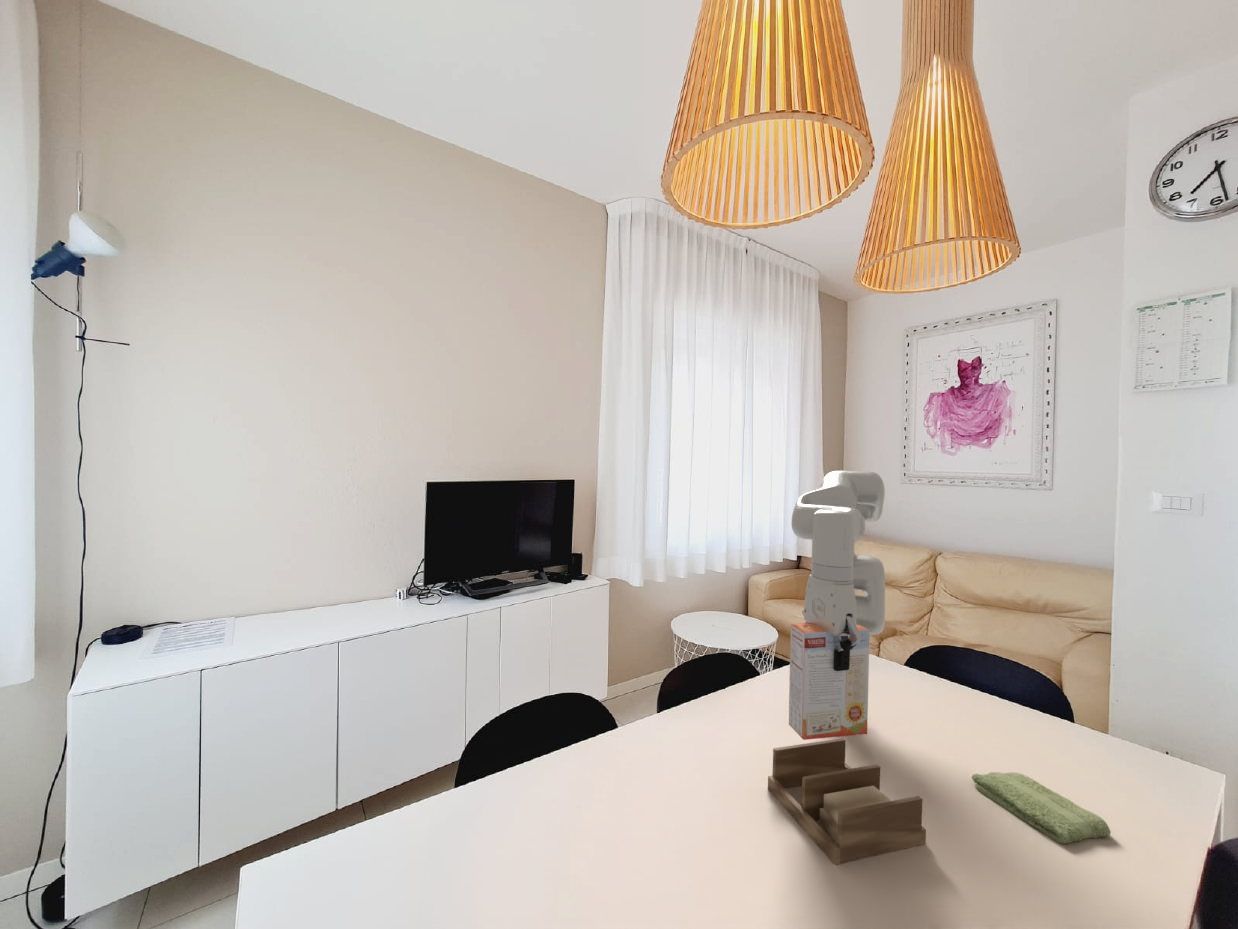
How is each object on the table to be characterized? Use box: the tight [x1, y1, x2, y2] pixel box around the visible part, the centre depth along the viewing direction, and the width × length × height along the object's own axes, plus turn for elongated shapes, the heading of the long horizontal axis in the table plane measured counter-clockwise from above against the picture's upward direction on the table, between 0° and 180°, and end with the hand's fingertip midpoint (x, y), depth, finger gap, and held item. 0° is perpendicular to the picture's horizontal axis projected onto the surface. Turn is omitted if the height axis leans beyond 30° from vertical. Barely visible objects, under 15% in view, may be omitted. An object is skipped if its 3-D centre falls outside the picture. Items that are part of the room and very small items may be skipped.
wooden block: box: [818, 786, 892, 844], centre depth 86 cm, size 6×12×6 cm, turn 101°
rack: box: [767, 737, 927, 866], centre depth 91 cm, size 19×19×8 cm
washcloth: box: [971, 771, 1112, 845], centre depth 94 cm, size 13×18×3 cm
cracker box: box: [788, 622, 870, 741], centre depth 96 cm, size 14×6×21 cm, turn 100°
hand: (828, 661), depth 96 cm, fingers closed on cracker box, 6 cm apart
